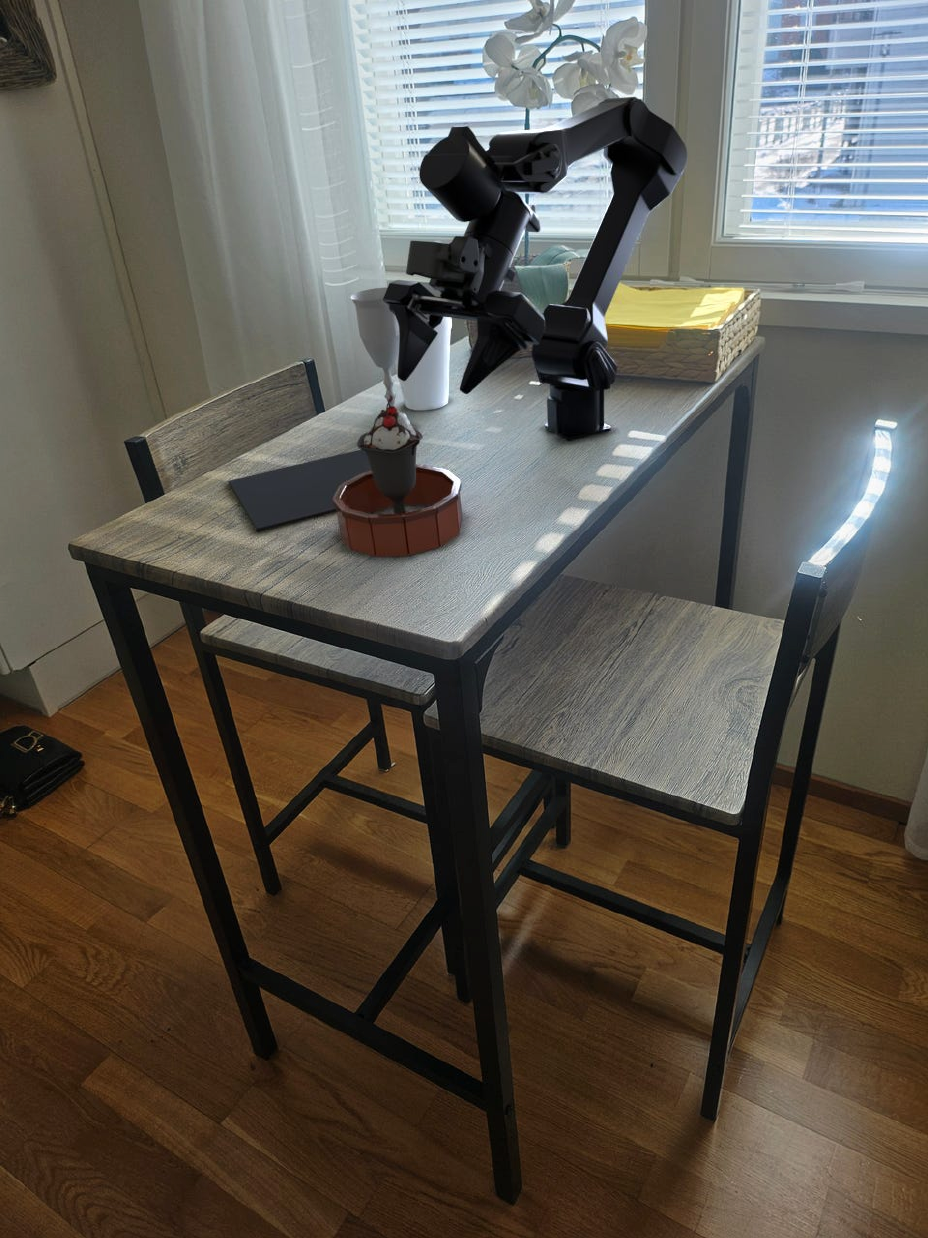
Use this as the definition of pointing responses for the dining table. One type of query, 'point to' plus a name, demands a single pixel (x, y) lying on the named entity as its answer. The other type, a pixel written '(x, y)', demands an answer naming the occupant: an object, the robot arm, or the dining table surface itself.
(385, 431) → the sundae
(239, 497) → the placemat
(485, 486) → the dining table surface
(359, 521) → the serving tub
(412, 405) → the foam cup
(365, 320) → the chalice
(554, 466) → the dining table surface
